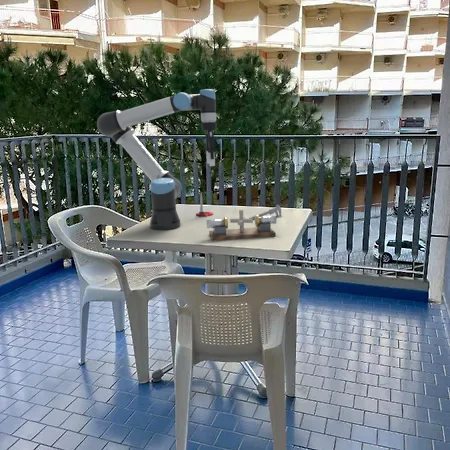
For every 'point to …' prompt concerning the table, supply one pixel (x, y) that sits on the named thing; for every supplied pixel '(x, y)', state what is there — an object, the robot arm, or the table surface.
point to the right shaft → (264, 223)
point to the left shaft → (218, 226)
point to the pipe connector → (241, 220)
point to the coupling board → (241, 234)
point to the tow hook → (202, 209)
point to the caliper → (269, 212)
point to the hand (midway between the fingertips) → (210, 164)
